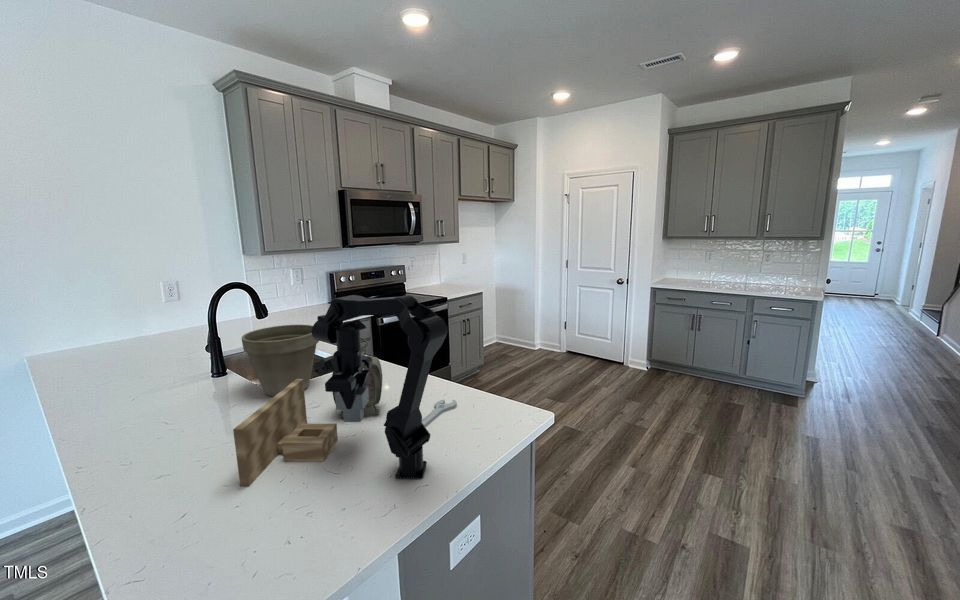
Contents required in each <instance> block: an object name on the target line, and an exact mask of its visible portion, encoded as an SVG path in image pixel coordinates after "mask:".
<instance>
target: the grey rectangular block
mask: <svg viewBox="0 0 960 600" xmlns="http://www.w3.org/2000/svg"><path fill="white" fill-rule="evenodd" d="M368 401H369V395H368V387H358V388H357V392H356V395H355V399H354V402H353V405H352V408H351V409H347V408H346V406H345V403H344V401H343V399H342V397H341V395H340V393H339V392H337V393H336V394H335V402H336V404H335V410H336V411H339V410H343V423H361V422H362V421H363V419H364V418H365V417H364V409H365V408H366V407H365V406H366V404H367V403H368ZM335 402H334V403H335ZM364 407H365V408H364Z"/></svg>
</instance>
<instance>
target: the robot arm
mask: <svg viewBox="0 0 960 600" xmlns="http://www.w3.org/2000/svg"><path fill="white" fill-rule="evenodd" d="M383 315H384V316H386V315H388V316H389V315H394V316H395V317H396V318H397V319H398V323H399V325H400V328H401V330H402V332H404V333H405V335H406V336H407V346H408V348H409V351H410V358H409V362H408V366H407V370H406V374H405V378H404V382H403V385H402V390H401V394H400V398H399V403H398V405H395V407H393V408H391V409H389V410H388V411H387V413H386V417H385V418H386V419H385V422H384V424H383V426H384V434H385V438H386V441H387V444H388V446H389V449H390V453H391V454H393V455H395V457H396V458H398V467H397V470H396V473H395V474H394V475H395V476H394V477H395V479H423V478H424V476H425V475H424V474H425V471H426V469H427V468H426V467H427V463H428V462H427V461H426V460H424V452H423V451H424V449H423V448H424V447H423V446H424V445H425V444H427V443H428V442H429V441H430V438H431V433H430V432H429V431H428V430H427V428H426V427H425V426H424V425H423V424H422V419H423V415H422V413H421V410H420V406H421V403H422V399H423V395H424V391H425V387H426V385H427V380H428V376H429V373H430V371H431V369H430V368H431V366H432V361H433V358H434V356H435V355H436V353H437V352H438V351H439V350H440V348H441V347H442V345H443V344H444V342H445V340H446V337H447V335H448V333H449V328H448V325H447V324H446V321H445V320H444V319H443V318H442V317H441V316H439V315H438V314H437V313H435V311H433V309H432V308H429V307H427V306H426V305H424V304H422V303H421V302H419V301H418V300H417V299H416V298H415V297H414V296H413V295H410V294H406V295H405V294H404V295H401V296H390V297H379V298H378V297H376V298H367V297H364V296H362V295H357V294H352V295H346V296H341V297H335V298H333V299H331V300H330V304H329V307H328V308H327V311H326V313H325V314H323V315H317V320H316V321H315V322H314V323H313V325H312V326H313V328H312V336H313V338H314V339H316V340H318V341H319V342H323V343H329V344H336V351H334V352H333V354H332V355H330V356H327V357H324V358H320V359H319V360H316V361H315V362H314V361H313V366H312V368H313V369H312V372H313V373H315V374H316V375H318V377H323V376H324V374H327V373H330V372H333V371H334V373H339V372H341V375H333V376H331V377H330V378H328V380H327V381H325V383H324V389H325V390H324V391H325V392H327V393H333V392H339V393H340V395H341V397H342V399H343V401H344V403H345V406H346V408H347V409H351V408H352V405H353V402H354V399H355V395H356V392H357V388H358V387H363V386H364V383H365V380H366V378H367V375H368V373H369V370H364V368H363V367H364V366H365V365H367V368H368V369H370V368H371V367H372V366H373V362H372V358H371V357H370V356H371V355H365V356H361V353H362V352H363V353H364V349H365V348H364V349H363V347H364V346H362V344H361V340H362V339H360V337H361V330H362V331H363V330H365V329H367V325H365V324H364V323H363V322H362V321H361V320H360V319H357V318H360V317H363V316H383ZM411 316H413V317H414V318H416V319H418V320H416V321H415V320H414V319H413V317H411ZM353 319H355V320H353ZM350 320H353V321H350Z"/></svg>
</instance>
